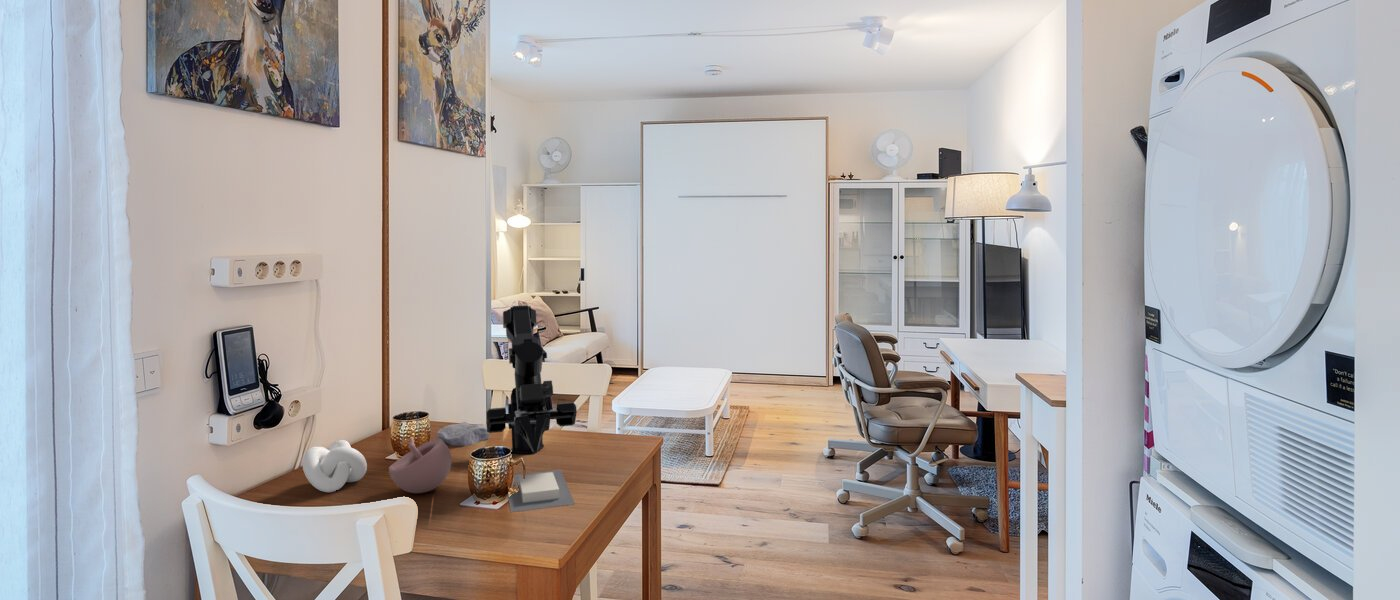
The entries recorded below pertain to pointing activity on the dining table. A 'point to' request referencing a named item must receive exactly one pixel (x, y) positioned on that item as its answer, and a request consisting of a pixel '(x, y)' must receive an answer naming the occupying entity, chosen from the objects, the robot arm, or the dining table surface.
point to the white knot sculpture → (333, 466)
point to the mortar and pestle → (422, 467)
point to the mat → (563, 500)
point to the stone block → (463, 434)
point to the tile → (538, 487)
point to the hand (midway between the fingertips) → (535, 451)
